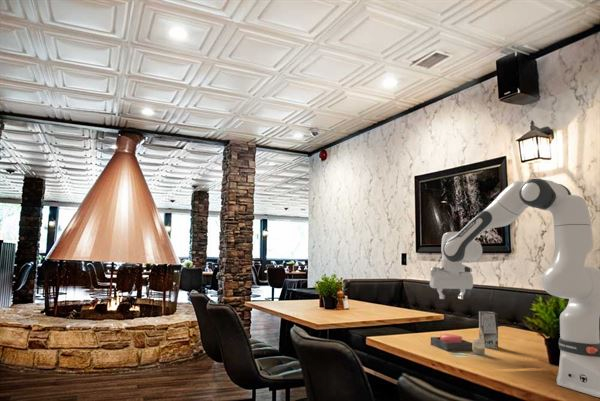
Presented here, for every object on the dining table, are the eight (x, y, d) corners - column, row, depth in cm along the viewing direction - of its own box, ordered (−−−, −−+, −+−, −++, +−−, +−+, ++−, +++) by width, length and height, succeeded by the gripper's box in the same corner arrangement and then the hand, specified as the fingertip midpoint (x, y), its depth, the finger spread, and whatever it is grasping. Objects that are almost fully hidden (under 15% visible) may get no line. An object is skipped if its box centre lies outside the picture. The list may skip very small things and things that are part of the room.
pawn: (487, 355, 170) (486, 340, 171) (477, 355, 169) (477, 340, 170) (479, 353, 174) (479, 338, 175) (470, 353, 173) (470, 338, 174)
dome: (466, 347, 179) (466, 338, 180) (448, 347, 177) (448, 338, 178) (453, 342, 188) (453, 333, 189) (436, 343, 186) (436, 334, 186)
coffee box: (498, 351, 184) (498, 313, 186) (483, 349, 186) (482, 312, 188) (493, 346, 193) (493, 311, 195) (478, 345, 195) (478, 310, 197)
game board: (495, 360, 167) (495, 349, 167) (461, 361, 163) (461, 349, 163) (458, 346, 190) (458, 336, 191) (427, 347, 186) (427, 337, 187)
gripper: (434, 267, 181) (434, 299, 180) (475, 268, 186) (475, 300, 185) (427, 266, 187) (426, 297, 186) (466, 268, 192) (466, 298, 191)
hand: (451, 299), depth 185 cm, fingers open, 8 cm apart
